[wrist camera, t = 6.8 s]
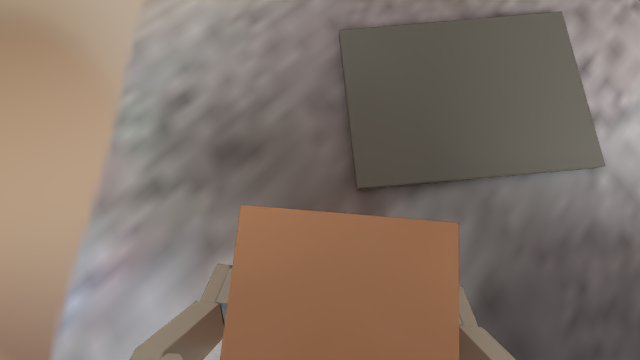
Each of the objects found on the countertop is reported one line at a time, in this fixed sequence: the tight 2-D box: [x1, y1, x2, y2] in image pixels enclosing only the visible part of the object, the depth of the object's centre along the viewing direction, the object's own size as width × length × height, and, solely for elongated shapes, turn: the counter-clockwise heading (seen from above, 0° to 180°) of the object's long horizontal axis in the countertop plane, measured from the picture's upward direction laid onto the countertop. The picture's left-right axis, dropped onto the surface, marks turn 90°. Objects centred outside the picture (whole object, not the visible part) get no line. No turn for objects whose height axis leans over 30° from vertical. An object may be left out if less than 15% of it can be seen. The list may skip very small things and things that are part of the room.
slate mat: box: [339, 11, 605, 190], centre depth 18 cm, size 14×10×1 cm
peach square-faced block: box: [220, 205, 459, 360], centre depth 12 cm, size 6×6×9 cm
